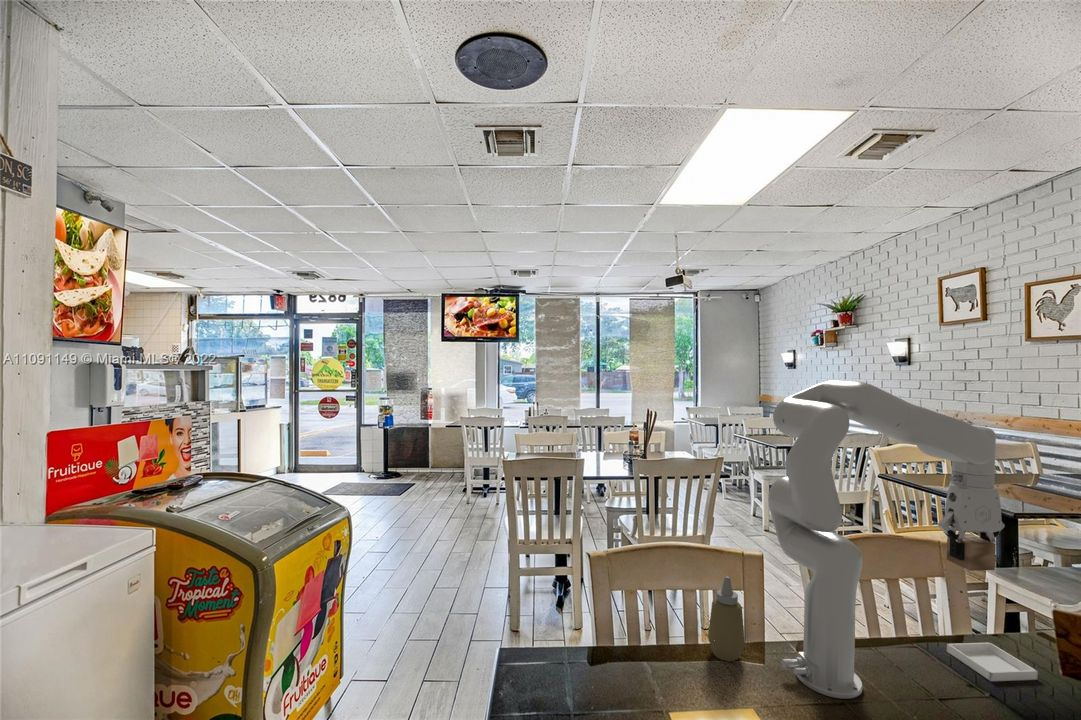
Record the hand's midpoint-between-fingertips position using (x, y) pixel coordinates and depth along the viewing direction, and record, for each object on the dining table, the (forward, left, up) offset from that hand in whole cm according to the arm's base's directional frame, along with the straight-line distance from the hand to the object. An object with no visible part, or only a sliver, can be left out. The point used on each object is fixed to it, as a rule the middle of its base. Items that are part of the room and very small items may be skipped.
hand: (970, 557), depth 118 cm
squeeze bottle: (-56, +4, -24) cm, 61 cm away
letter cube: (0, 0, -2) cm, 2 cm away
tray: (+2, -3, -23) cm, 24 cm away
